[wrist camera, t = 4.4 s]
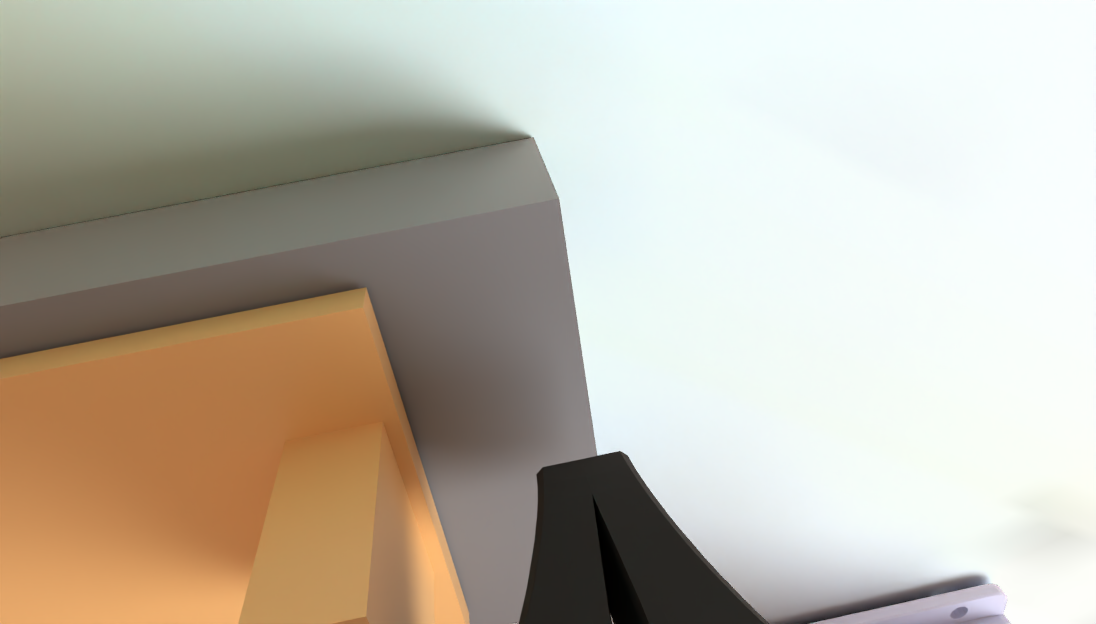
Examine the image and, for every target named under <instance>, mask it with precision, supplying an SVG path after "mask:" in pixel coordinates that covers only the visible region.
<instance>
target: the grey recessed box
mask: <svg viewBox="0 0 1096 624" xmlns="http://www.w3.org/2000/svg"><path fill="white" fill-rule="evenodd" d="M365 287H366V288H367V291H368V294H369V298H370V301H371V304H372V307H373V310H374V313H375V317H376V320H377V323H378V326H379V329H380V332H381V336H382V339H383V342H384V345H385V348H386V351H387V355H388V358H389V361H390V364H391V367H392V370H393V374H394V377H395V380H396V383H397V386H398V389H399V393H400V396H401V399H402V402H403V405H404V408H405V412H406V415H407V418H408V421H409V424H410V428H411V431H412V434H413V437H414V440H415V443H416V447H417V450H418V453H419V456H420V459H421V462H422V466H423V469H424V472H425V475H426V478H427V481H428V485H429V488H430V491H431V494H432V497H433V500H434V504H435V507H436V510H437V513H438V516H439V519H440V523H441V526H442V529H443V532H444V535H445V538H446V542H447V545H448V548H449V551H450V554H451V557H452V561H453V564H454V567H455V570H456V573H457V576H458V580H459V583H460V586H461V589H462V592H463V595H464V599H465V602H466V605H467V608H468V611H469V623H470V624H513V623H518V622H519V620H520V615H521V611H522V607H523V603H524V598H525V594H526V589H527V584H528V578H529V571H530V565H531V559H532V553H533V547H534V540H535V530H536V521H537V505H538V486H537V476H536V474H537V473H538V472H539V471H540V470H541V468H542V467H546V466H551V465H556V464H560V463H565V462H570V461H575V460H580V459H585V458H589V457H594V456H597V451H596V445H595V438H594V431H593V424H592V418H591V411H590V404H589V398H588V391H587V384H586V377H585V371H584V364H583V357H582V350H581V344H580V337H579V330H578V323H577V317H576V310H575V303H574V296H573V290H572V283H571V276H570V269H569V263H568V256H567V249H566V242H565V236H564V229H563V222H562V216H561V209H560V202H559V197H558V195H557V193H556V190H555V188H554V185H553V183H552V181H551V178H550V176H549V173H548V171H547V169H546V166H545V164H544V161H543V159H542V157H541V154H540V152H539V149H538V147H537V145H536V142H535V140H534V137H533V138H527V139H522V140H517V141H511V142H506V143H501V144H495V145H490V146H485V147H480V148H474V149H469V150H464V151H458V152H453V153H448V154H442V155H437V156H432V157H427V158H421V159H416V160H411V161H405V162H400V163H395V164H389V165H384V166H379V167H374V168H368V169H363V170H358V171H352V172H347V173H342V174H336V175H331V176H326V177H320V178H315V179H310V180H305V181H299V182H294V183H289V184H283V185H278V186H273V187H267V188H262V189H257V190H252V191H246V192H241V193H236V194H230V195H225V196H220V197H214V198H209V199H204V200H199V201H193V202H188V203H183V204H177V205H172V206H167V207H161V208H156V209H151V210H146V211H140V212H135V213H130V214H124V215H119V216H114V217H108V218H103V219H98V220H92V221H87V222H82V223H77V224H71V225H66V226H61V227H55V228H50V229H45V230H39V231H34V232H29V233H24V234H18V235H13V236H8V237H2V238H0V359H2V358H8V357H13V356H18V355H23V354H28V353H33V352H38V351H43V350H48V349H53V348H59V347H64V346H69V345H74V344H79V343H84V342H89V341H94V340H99V339H104V338H110V337H115V336H120V335H125V334H130V333H135V332H140V331H145V330H150V329H156V328H161V327H166V326H171V325H176V324H181V323H186V322H191V321H196V320H201V319H207V318H212V317H217V316H222V315H227V314H232V313H237V312H242V311H247V310H252V309H258V308H263V307H268V306H273V305H278V304H283V303H288V302H293V301H298V300H303V299H309V298H314V297H319V296H324V295H329V294H334V293H339V292H344V291H349V290H354V289H360V288H365Z"/></svg>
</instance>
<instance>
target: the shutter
mask: <svg viewBox="0 0 1096 624" xmlns="http://www.w3.org/2000/svg"><path fill="white" fill-rule="evenodd" d="M0 624H470V623H469V611H468V608H467V605H466V602H465V599H464V595H463V592H462V589H461V586H460V583H459V580H458V576H457V573H456V570H455V567H454V564H453V561H452V557H451V554H450V551H449V548H448V545H447V542H446V538H445V535H444V532H443V529H442V526H441V523H440V519H439V516H438V513H437V510H436V507H435V504H434V500H433V497H432V494H431V491H430V488H429V485H428V481H427V478H426V475H425V472H424V469H423V466H422V462H421V459H420V456H419V453H418V450H417V447H416V443H415V440H414V437H413V434H412V431H411V428H410V424H409V421H408V418H407V415H406V412H405V408H404V405H403V402H402V399H401V396H400V393H399V389H398V386H397V383H396V380H395V377H394V374H393V370H392V367H391V364H390V361H389V358H388V355H387V351H386V348H385V345H384V342H383V339H382V336H381V332H380V329H379V326H378V323H377V320H376V317H375V313H374V310H373V307H372V304H371V301H370V298H369V294H368V291H367V288H366V287H365V288H360V289H354V290H349V291H344V292H339V293H334V294H329V295H324V296H319V297H314V298H309V299H303V300H298V301H293V302H288V303H283V304H278V305H273V306H268V307H263V308H258V309H252V310H247V311H242V312H237V313H232V314H227V315H222V316H217V317H212V318H207V319H201V320H196V321H191V322H186V323H181V324H176V325H171V326H166V327H161V328H156V329H150V330H145V331H140V332H135V333H130V334H125V335H120V336H115V337H110V338H104V339H99V340H94V341H89V342H84V343H79V344H74V345H69V346H64V347H59V348H53V349H48V350H43V351H38V352H33V353H28V354H23V355H18V356H13V357H8V358H2V359H0Z"/></svg>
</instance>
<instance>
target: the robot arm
mask: <svg viewBox="0 0 1096 624" xmlns="http://www.w3.org/2000/svg"><path fill="white" fill-rule="evenodd" d="M536 476H537V486H538V505H537V521H536V530H535V540H534V547H533V553H532V559H531V565H530V571H529V578H528V584H527V589H526V594H525V598H524V603H523V607H522V611H521V615H520V620H519V624H612V621H611V616H612V619H613V622H614V624H769V623H768V622H767V621H766V620H765V619H764V618H763V617H762V616H761V615H760V614H758V613H757V612H756V611H755V610H754V609H753V608H752V607H751V606H750V605H749V604H748V603H747V602H746V601H745V600H744V599H743V598H742V597H741V596H740V595H739V594H738V593H737V592H736V591H735V590H734V588H733V587H732V586H731V585H730V584H729V583H728V582H727V581H726V580H725V579H724V578H723V577H722V576H721V575H720V574H719V573H718V572H717V571H716V570H715V569H714V567H713V566H712V565H711V564H710V563H709V562H708V561H707V560H706V559H705V558H704V556H703V555H702V554H701V553H700V552H699V551H698V549H697V548H696V547H695V546H694V545H693V544H692V542H691V541H690V540H689V539H688V538H687V537H686V536H685V534H684V533H683V532H682V531H681V530H680V529H679V527H678V526H677V525H676V524H675V522H674V521H673V520H672V519H671V517H670V516H669V515H668V514H667V512H666V511H665V510H664V508H663V507H662V506H661V505H660V503H659V502H658V501H657V499H656V498H655V497H654V495H653V494H652V492H651V491H650V490H649V488H648V487H647V486H646V484H645V483H644V481H643V480H642V478H641V477H640V475H639V474H638V472H637V470H636V469H635V467H634V466H633V464H632V462H631V461H630V459H629V457H628V456H627V455H626V454H624V453H622V452H621V451H618V452H614V453H609V454H604V455H599V456H594V457H589V458H585V459H580V460H575V461H570V462H565V463H560V464H556V465H551V466H546V467H542V468H541V470H540V471H539V472H538V473H537V474H536ZM1006 603H1007V596H1006V595H1005V593H1004V592H1003V591H1002V590H1001V588H1000V587H999V586H998V585H995V584H984V585H980V586H975V587H971V588H966V589H962V590H957V591H953V592H948V593H944V594H939V595H935V596H930V597H926V598H921V599H917V600H912V601H908V602H903V603H899V604H894V605H890V606H886V607H881V608H877V609H872V610H868V611H863V612H859V613H854V614H850V615H845V616H841V617H836V618H832V619H827V620H823V621H818V622H814V623H809V624H1011V623H1010V622H1009V620H1008V619H1007V618H1006V617H1005V615H1003V613H1004V610H1005V606H1006ZM610 613H611V614H610Z"/></svg>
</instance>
